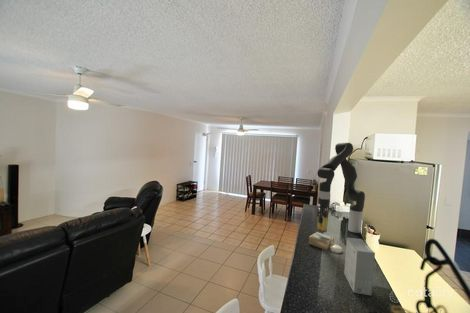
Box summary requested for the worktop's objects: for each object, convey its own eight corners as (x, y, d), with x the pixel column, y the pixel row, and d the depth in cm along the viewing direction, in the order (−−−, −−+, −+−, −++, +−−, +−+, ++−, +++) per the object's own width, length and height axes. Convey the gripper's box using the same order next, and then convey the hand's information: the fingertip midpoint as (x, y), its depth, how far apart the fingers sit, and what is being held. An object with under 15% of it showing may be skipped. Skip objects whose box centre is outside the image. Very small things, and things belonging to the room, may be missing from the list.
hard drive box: (372, 296, 95) (375, 253, 94) (353, 293, 97) (356, 251, 96) (359, 275, 110) (362, 238, 109) (343, 273, 112) (346, 236, 111)
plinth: (316, 238, 154) (316, 231, 153) (333, 244, 145) (334, 236, 145) (308, 243, 145) (309, 235, 145) (326, 250, 137) (326, 242, 137)
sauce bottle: (315, 229, 148) (317, 201, 147) (324, 229, 148) (325, 201, 147) (320, 233, 141) (321, 203, 140) (328, 233, 142) (330, 204, 141)
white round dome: (332, 246, 142) (332, 243, 142) (343, 250, 138) (343, 247, 137) (328, 250, 138) (328, 246, 137) (339, 254, 133) (339, 250, 132)
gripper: (323, 194, 151) (321, 217, 152) (314, 197, 141) (312, 222, 142) (333, 197, 146) (332, 220, 147) (325, 200, 136) (323, 225, 137)
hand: (322, 221), depth 144 cm, fingers closed on sauce bottle, 6 cm apart
